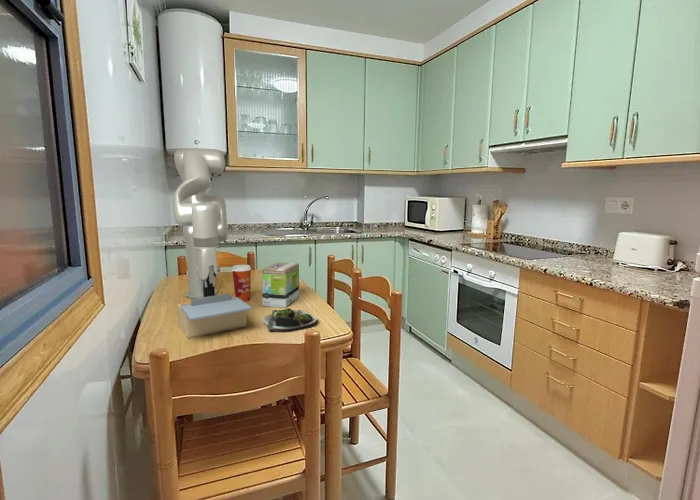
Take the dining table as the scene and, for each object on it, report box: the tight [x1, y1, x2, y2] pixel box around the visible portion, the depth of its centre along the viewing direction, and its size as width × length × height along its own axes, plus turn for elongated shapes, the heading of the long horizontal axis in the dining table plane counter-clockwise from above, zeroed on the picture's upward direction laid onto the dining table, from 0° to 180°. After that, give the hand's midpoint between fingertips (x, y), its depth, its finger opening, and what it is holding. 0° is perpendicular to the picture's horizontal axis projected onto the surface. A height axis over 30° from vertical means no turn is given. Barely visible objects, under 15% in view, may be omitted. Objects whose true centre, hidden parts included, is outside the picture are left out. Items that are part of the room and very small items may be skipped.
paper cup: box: [231, 264, 252, 303], centre depth 150 cm, size 8×8×14 cm
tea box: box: [261, 262, 300, 309], centre depth 148 cm, size 15×10×15 cm
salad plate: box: [262, 307, 318, 333], centre depth 126 cm, size 19×18×5 cm
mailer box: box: [176, 295, 248, 339], centre depth 122 cm, size 14×18×7 cm
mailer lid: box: [181, 293, 253, 321], centre depth 116 cm, size 14×18×3 cm
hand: (209, 298), depth 122 cm, fingers closed
